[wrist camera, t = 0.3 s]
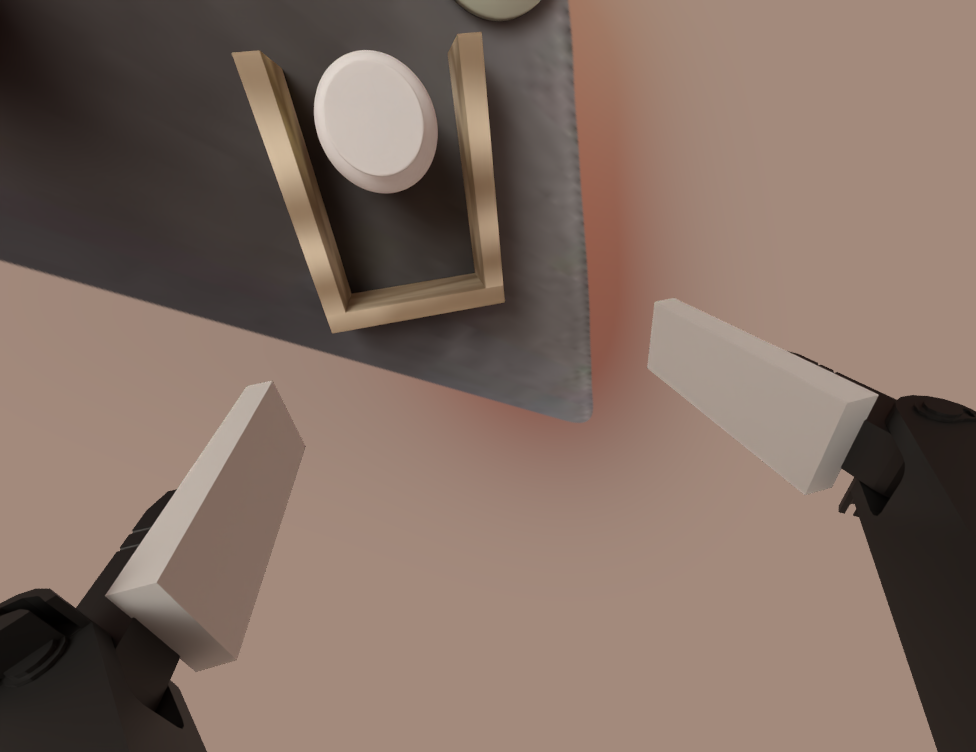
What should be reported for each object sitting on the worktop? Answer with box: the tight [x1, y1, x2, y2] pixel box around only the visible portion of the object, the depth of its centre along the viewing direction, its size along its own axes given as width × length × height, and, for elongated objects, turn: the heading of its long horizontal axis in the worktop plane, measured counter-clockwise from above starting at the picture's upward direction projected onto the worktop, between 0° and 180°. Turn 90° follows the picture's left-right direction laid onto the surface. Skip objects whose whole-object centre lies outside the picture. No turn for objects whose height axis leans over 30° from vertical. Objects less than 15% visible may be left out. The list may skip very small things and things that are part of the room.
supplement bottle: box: [314, 50, 438, 193], centre depth 23 cm, size 7×7×13 cm
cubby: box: [232, 32, 505, 333], centre depth 29 cm, size 18×14×5 cm
